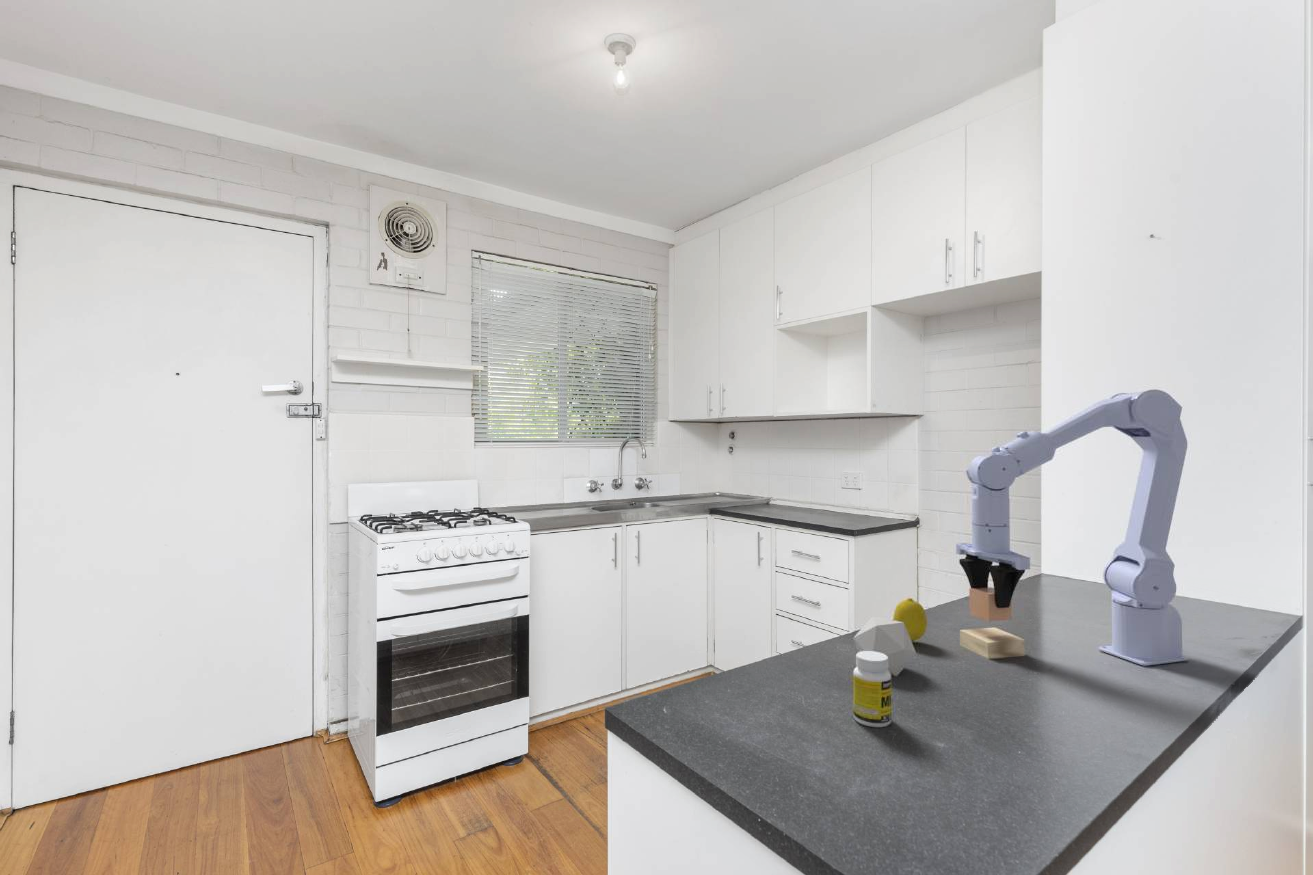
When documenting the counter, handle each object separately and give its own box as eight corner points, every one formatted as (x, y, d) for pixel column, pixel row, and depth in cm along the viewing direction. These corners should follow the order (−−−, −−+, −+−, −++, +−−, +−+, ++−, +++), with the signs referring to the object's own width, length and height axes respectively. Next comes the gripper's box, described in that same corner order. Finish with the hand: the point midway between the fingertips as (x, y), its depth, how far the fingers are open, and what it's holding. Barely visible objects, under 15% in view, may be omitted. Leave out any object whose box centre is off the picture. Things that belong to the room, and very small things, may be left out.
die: (924, 673, 99) (899, 615, 104) (922, 662, 92) (895, 601, 97) (873, 688, 100) (851, 630, 106) (868, 678, 94) (844, 617, 99)
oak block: (995, 644, 112) (994, 627, 112) (1024, 657, 105) (1024, 639, 105) (960, 646, 110) (959, 629, 110) (987, 660, 103) (987, 642, 103)
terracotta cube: (991, 612, 110) (991, 587, 110) (1011, 619, 106) (1011, 592, 106) (969, 614, 109) (969, 588, 109) (988, 621, 105) (988, 594, 105)
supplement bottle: (887, 731, 78) (886, 664, 78) (849, 722, 81) (848, 657, 81) (895, 716, 82) (894, 653, 82) (858, 708, 85) (858, 647, 85)
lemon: (930, 648, 108) (929, 602, 108) (896, 646, 109) (896, 601, 109) (923, 638, 114) (923, 594, 114) (891, 636, 115) (890, 593, 115)
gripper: (941, 519, 113) (942, 594, 113) (1004, 531, 99) (1004, 616, 99) (974, 518, 115) (975, 591, 115) (1040, 529, 101) (1041, 613, 101)
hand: (991, 603), depth 107 cm, fingers closed on terracotta cube, 5 cm apart
